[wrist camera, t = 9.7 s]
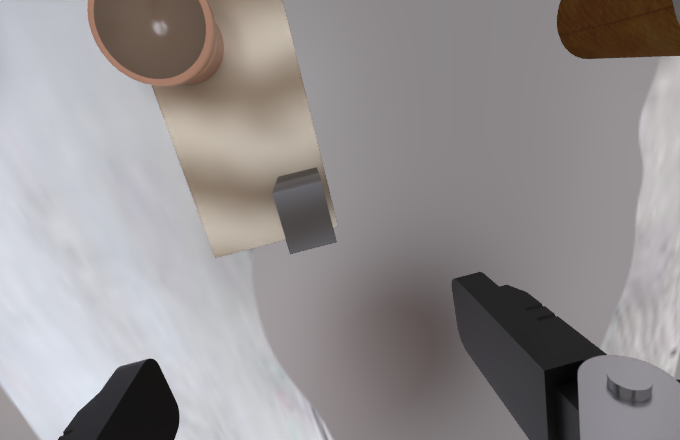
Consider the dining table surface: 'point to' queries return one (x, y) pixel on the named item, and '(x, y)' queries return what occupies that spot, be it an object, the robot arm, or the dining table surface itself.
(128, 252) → the dining table surface
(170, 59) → the terracotta pot
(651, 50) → the disposable coffee cup
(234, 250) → the birch board
